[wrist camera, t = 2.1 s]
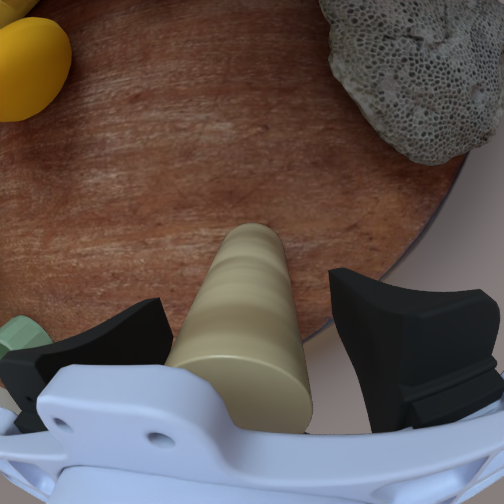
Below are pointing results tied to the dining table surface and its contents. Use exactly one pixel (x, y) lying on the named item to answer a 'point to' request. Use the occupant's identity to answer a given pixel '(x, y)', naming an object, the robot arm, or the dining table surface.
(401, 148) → the rock
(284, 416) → the pepper mill
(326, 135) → the dining table surface
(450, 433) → the robot arm
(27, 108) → the apple
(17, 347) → the green round bowl
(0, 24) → the teapot
